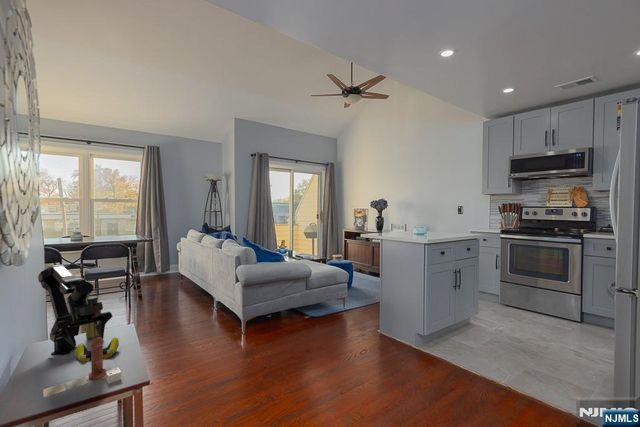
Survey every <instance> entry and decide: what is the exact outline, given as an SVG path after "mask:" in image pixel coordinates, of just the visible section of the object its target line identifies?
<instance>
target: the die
mask: <svg viewBox="0 0 640 427" xmlns="http://www.w3.org/2000/svg"><path fill="white" fill-rule="evenodd" d="M121 380H122V371H121V369H120V367H115V368H112V369H109V370H106V378H105V381H106V383H107V385H109V384H112V383H115V382H118V381H121Z"/></svg>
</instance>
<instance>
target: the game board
mask: <svg viewBox="0 0 640 427" xmlns="http://www.w3.org/2000/svg"><path fill="white" fill-rule="evenodd" d="M102 379H106V375H105V376H104V377H103V378H101V379H98V380H89V378H88V375H87V376H82V377H79V378H76V379H72V380H69V381H66V382H63V383H60V384H57V385H54V386H50V387H47V388H44V389H42V392H43V398H47V397H50V396H53V395H56V394H59V393H62V392H66V390H67V391H68V390H72V389H75V388H78V387H81V386H83V385H87V384H88V383H89V384H91V383H93V382H96V381H99V380H102Z"/></svg>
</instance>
